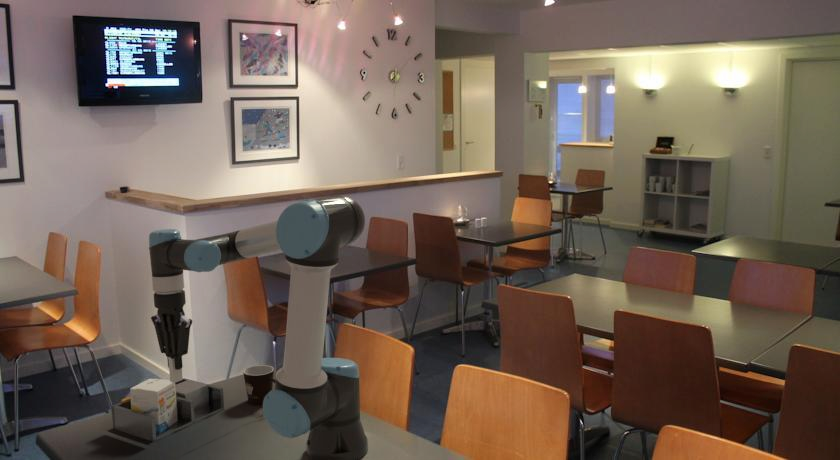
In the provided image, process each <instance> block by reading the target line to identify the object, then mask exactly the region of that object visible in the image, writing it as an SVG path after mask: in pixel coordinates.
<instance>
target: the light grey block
mask: <svg viewBox="0 0 840 460" xmlns="http://www.w3.org/2000/svg"><path fill="white" fill-rule="evenodd" d="M191 380H192V379H189V380H187V381H184V382H182V383H179V384H177V385H175V387H176V396H178V397H182V398H185V399H189V400H193V401H194V415H196V414H198V413H201V412H203V411H205V410H207V409H209V394H208V385H209V384H208V385H206V384H207V383H204V384H202V383H203V382H201V383H199V382H200V381H197V382H195V381H196V380H193V381H191Z"/></svg>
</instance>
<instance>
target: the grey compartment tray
mask: <svg viewBox="0 0 840 460" xmlns="http://www.w3.org/2000/svg"><path fill="white" fill-rule="evenodd" d="M182 378H183V380H180V381H178V382H175V385H177V384H179V383H182V382H184V381H187V380H191V381H195V382H199V383H202V384H206V385H208V394H209V409H207V410H205V411H203V412H201V413H198V414H196V415H194V401H193V400H189V399H185V398H182V397H178V396H176V402H177V417H178V421H177V422H176V423H174V424H173V425H172V426H170V427H169V428H167V429H166V430H164V431H163V432H162V433H160V434H158V433H156V427H155V417H153V416H150V415H146V414H143V413H140V412H137V411H133V410H131V397H130V396H127V397H125V398H122V399H121V402H119V403H116V404H113V405H111V417H112V429H113V430H116V431H120V432H123V433H126V434H128V435H131V436H135V437H138V438H140V439H142V440H143V439H144V440H147V441H149V442H152V443H154V442H156V441H158V440H161V439H162V438H166V437H167V436H170V435H171V434H173V433H176V432H178V431H181V430H182V429H185V428H186V427H189V426H192V425H194V424H196V423H198V422H200V421H202V420H204V419H207V418H208V417H211V416H213V415H215V414H218V413H220V412H222V411H224V410H225V401H224V400H225V399H224V388H223V387H219V386H215V385H211V384H208V383H204V382H200V381H196V380H193V379H188V378H185V377H182Z"/></svg>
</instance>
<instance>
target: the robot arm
mask: <svg viewBox="0 0 840 460" xmlns="http://www.w3.org/2000/svg"><path fill="white" fill-rule="evenodd" d="M365 225H366V217H365V213H364V210H363V208H362V206H361V205H360V204H359V203H358V201H356V200H355V199H353V198H351V197H349V196H346V195H340V194H337V195H330V196H324V197H317V198H312V199H309V198H307V199H303V200H300V201H298V202H294V203H291V204H290V205H288V206H287V207H285V209H283V211H281V213H280V214H279V217H278V219H277V220H274V221H269V222H266V223H263V224H259V225H255V226H254V225H253V226H250V227H247V228H244V229H240V230H236V231H232V232H228V233H227V232H226V233H223V234H218V235H213V236H208V237H202V238H198V239H197V238H196V239H182V236H181V232H180V231H179V230H178V229H175V228H171V229H170V228H168V229H167V228H165V229H158V230H157V229H156V230H153V231H151V232H150V233H149V236H148V250H149V258H150V260H149V261H150V268H151V284H152V291H153V292H154V293H153V303H154V308H156V309H157V312H156V314H155V315H152V316H151V317H150V319H151V321H152V323H153V325H154V330H155V334H156V338H157V342H158V347H159V349H160V350H159V351H160V353H161V354H165V356H166V359H167V367H168V370H169V380H170V382H173V383H175V382H178V381H180V380H183V378H184V377H183V367H184V366H183V356H185V355H187V354H188V353H189V352H188V351H189V342H190V334H191V326H192V324H193V320H192V318H187V317H186V316H185V315H186V314H185V311H184V307H185V305H186V302H187V301H186V291H185V290H184V289H185V281H184V271H191V272H197V273H202V272H203V273H209V272H213V271H214V270H215V269H216V268H218V266H222V265H225V264H230V263H233V262H234V263H235V262H240V261H245V260H247V259H251V258H255V257H259V256H264V255H269V254H274V253H278V252H283V254H284V260H285V261H286V263H287V264H288V265H289V266H290V268H291V269H290V278H289V289H288V292H289V293H288V303H287V317H286V325H285V326H286V328H285V338H284V339H285V342H284V353H283V363H282V365H283V366H282V367H280V368H279V369H278V370H277V371H276V373H275V379H274V380H275V383H274V389H272V390H271V391H270V392H269V393H268V394H267V395H266V396H265V398H264V400H263V405H262V411H263V416H264V418H265V420H266V423H267V424H268V425H269V427H270V428H271V429H272V430H273V431H274V433H276V434H277V435H279V436H281V437H283V438H286V439H294V438H298V437H300V436H302V435H306V434H307V433H309V434H308V437H307V441H306V444H305V445H306V446H305V447H306V455H307V457H308V458H309V459H310V460H359V459H361V458H363V457H364V456H365V455H366V454H367V453H368V450H369V441H368V437H367V435H366V434H365V429H364V426H363V423H362V421H361V403H360V402H361V398H360V397H361V395H360V379H361V377H360V372H359V365H358V364H357V363H356V362H355V361H353V360H351V359H348V358H347V359H346V358H343V357H323V356H324V346H325V334H326V325H327V324H326V323H327V317H328V316H327V314H328V305H329V303H328V302H329V291H330V282H331V271H332V269H334V268H335V267H336V266H338V264H339V263H340V262H339V260H340V250H341V248H343V247H347V246H349V245H352V244H353V243H355V242H356V241H358V239H359V238H360V237H361V235H362V234H363V233H364V229H365Z"/></svg>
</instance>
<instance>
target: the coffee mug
mask: <svg viewBox="0 0 840 460" xmlns="http://www.w3.org/2000/svg"><path fill="white" fill-rule="evenodd" d="M274 371H275V368H274V367H273V366H271V365H267V364H266V365H264V364H262V365H261V364H259V365H252V366H248V367H246V368H244V369H243V372H242V373H243V379H244V384H245V391H246V395H247V397H246V398H247V401H248V404H249V405H252V406H263V400H264V398H265V396H266V395H267V394H268V393H269V392H270V391H271V390H273V385H274V384H275V379H274V373H275V372H274Z"/></svg>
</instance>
